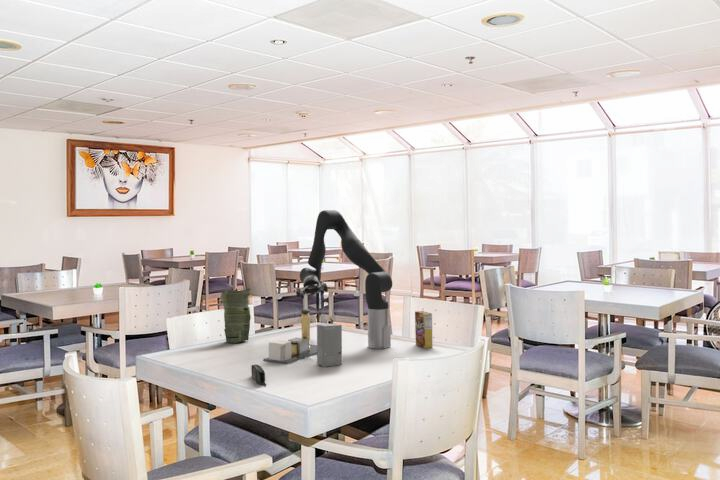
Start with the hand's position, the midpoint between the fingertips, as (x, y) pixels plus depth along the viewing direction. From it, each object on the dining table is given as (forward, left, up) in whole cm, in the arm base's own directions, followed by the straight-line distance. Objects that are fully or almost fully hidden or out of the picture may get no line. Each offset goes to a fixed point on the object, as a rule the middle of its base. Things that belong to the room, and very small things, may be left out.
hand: (312, 294), depth 268 cm
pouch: (+40, +5, -24) cm, 47 cm away
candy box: (-42, -26, -24) cm, 55 cm away
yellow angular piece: (-3, +18, -23) cm, 29 cm away
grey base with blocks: (-3, +15, -24) cm, 28 cm away
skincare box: (-24, +23, -24) cm, 41 cm away
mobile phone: (-16, +56, -24) cm, 63 cm away
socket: (-3, +28, -23) cm, 36 cm away
